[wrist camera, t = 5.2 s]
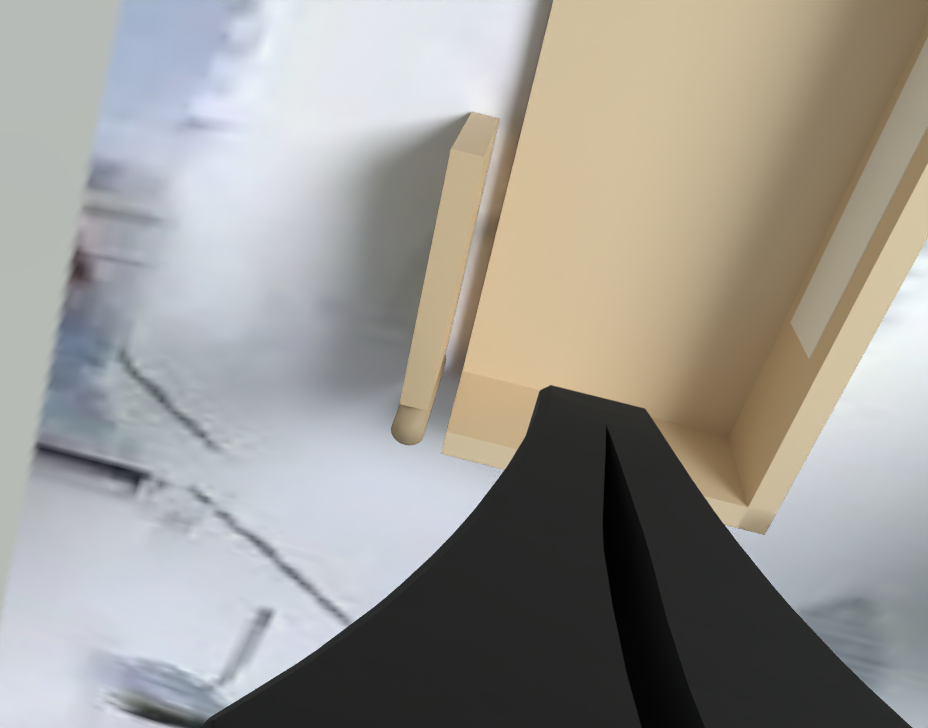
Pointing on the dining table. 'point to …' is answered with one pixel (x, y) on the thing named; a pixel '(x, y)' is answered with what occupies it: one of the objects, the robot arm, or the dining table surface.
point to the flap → (444, 274)
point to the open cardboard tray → (704, 228)
